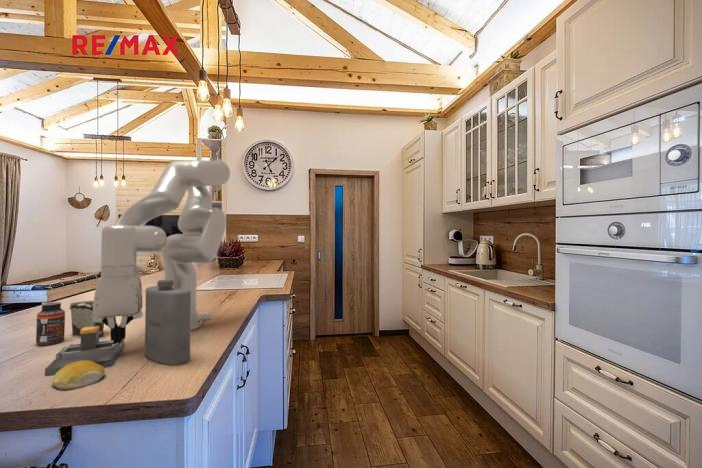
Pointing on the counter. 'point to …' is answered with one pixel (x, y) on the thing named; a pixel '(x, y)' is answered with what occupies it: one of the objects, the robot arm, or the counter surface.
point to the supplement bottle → (50, 324)
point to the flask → (167, 324)
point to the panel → (86, 355)
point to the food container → (83, 317)
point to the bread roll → (78, 375)
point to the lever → (90, 337)
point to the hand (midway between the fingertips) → (118, 341)
